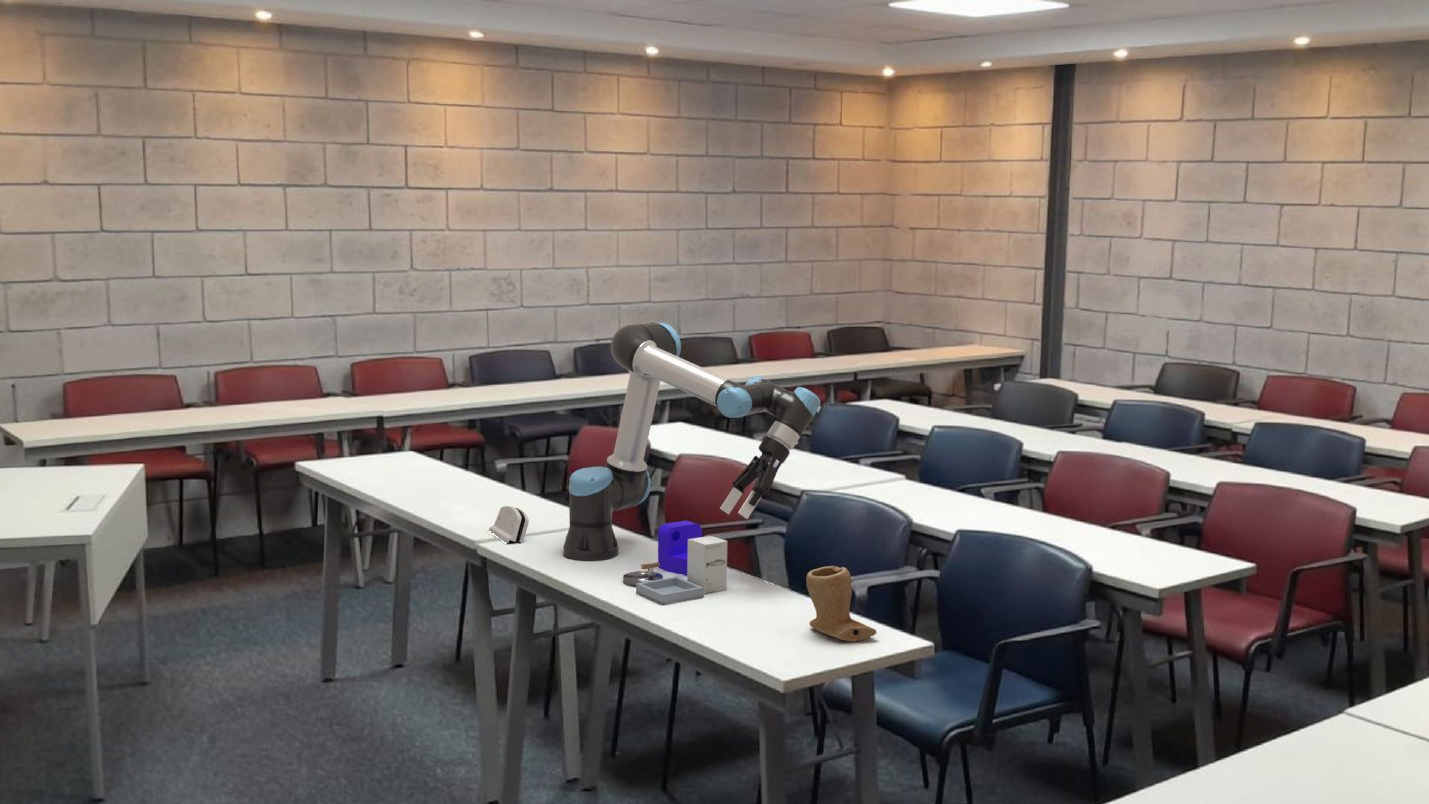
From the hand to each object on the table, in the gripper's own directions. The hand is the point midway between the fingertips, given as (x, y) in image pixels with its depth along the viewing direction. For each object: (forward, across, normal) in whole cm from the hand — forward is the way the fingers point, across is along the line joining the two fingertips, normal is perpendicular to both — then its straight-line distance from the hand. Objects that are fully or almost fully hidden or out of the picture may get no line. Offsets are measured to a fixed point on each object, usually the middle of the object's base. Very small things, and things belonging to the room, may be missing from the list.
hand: (733, 513), depth 322 cm
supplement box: (+19, +1, -5) cm, 20 cm away
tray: (+26, -2, +3) cm, 26 cm away
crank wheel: (+26, +12, +6) cm, 29 cm away
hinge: (+35, +69, +30) cm, 83 cm away
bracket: (+16, +17, -6) cm, 24 cm away
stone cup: (+14, -42, -21) cm, 49 cm away
